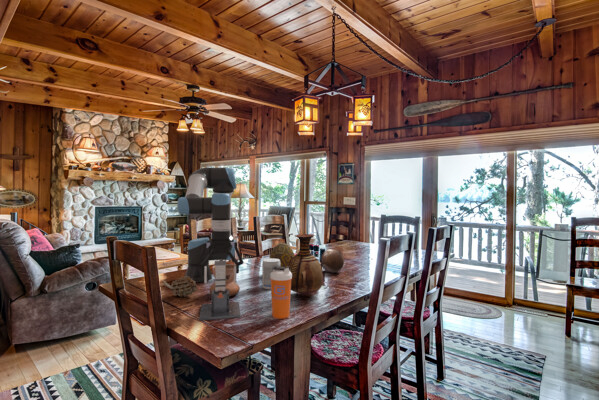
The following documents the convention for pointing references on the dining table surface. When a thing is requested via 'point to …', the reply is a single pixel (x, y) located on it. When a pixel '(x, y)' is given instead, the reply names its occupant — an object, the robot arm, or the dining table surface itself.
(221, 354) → the dining table surface
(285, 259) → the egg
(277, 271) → the shaker bottle
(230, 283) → the ceramic jug
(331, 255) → the wooden sphere
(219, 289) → the column
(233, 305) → the stand base
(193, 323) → the dining table surface
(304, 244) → the vase
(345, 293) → the dining table surface
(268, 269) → the supplement tub
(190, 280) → the pine cone
